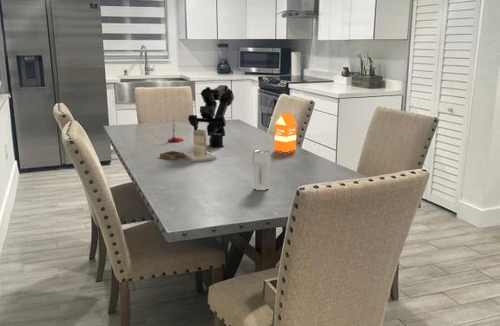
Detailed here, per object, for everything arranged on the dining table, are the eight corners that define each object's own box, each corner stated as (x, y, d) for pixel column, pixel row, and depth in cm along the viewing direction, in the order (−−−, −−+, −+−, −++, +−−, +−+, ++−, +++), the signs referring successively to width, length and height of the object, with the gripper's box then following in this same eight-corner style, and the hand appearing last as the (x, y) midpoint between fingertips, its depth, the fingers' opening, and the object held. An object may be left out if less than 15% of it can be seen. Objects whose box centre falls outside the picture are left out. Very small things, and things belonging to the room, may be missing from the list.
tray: (207, 154, 248) (207, 151, 247) (216, 159, 237) (216, 156, 237) (184, 156, 242) (184, 153, 242) (193, 162, 232) (193, 158, 232)
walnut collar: (172, 154, 247) (172, 150, 247) (184, 156, 242) (184, 153, 242) (159, 157, 241) (159, 153, 240) (171, 160, 236) (171, 156, 235)
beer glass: (251, 186, 194) (251, 149, 191) (268, 186, 195) (269, 149, 191) (253, 191, 187) (253, 153, 184) (270, 191, 188) (271, 153, 184)
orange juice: (295, 150, 259) (297, 113, 254) (285, 153, 252) (286, 115, 247) (284, 148, 264) (285, 111, 259) (274, 150, 257) (274, 113, 253)
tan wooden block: (197, 155, 243) (196, 129, 239) (206, 155, 242) (206, 130, 238) (193, 157, 238) (193, 131, 235) (203, 158, 237) (203, 131, 234)
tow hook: (171, 139, 287) (166, 141, 278) (171, 117, 284) (166, 119, 275) (185, 140, 286) (180, 142, 277) (184, 118, 283) (180, 120, 274)
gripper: (188, 99, 246) (181, 124, 238) (224, 100, 242) (218, 125, 234) (194, 112, 255) (187, 136, 247) (228, 113, 251) (222, 138, 244)
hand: (203, 134), depth 243 cm, fingers open, 9 cm apart
